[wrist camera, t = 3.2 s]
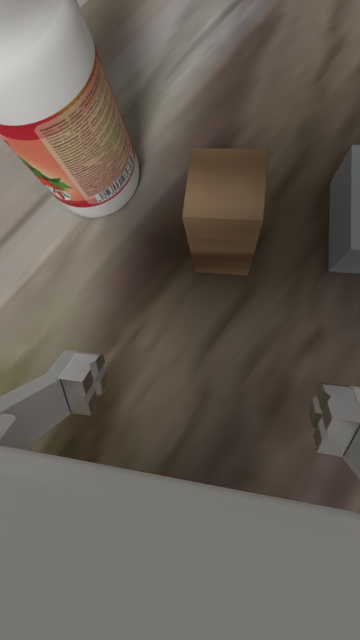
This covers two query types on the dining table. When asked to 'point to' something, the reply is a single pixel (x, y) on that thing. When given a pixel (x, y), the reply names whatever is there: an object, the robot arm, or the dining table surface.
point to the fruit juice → (63, 107)
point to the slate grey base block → (345, 215)
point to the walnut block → (224, 208)
